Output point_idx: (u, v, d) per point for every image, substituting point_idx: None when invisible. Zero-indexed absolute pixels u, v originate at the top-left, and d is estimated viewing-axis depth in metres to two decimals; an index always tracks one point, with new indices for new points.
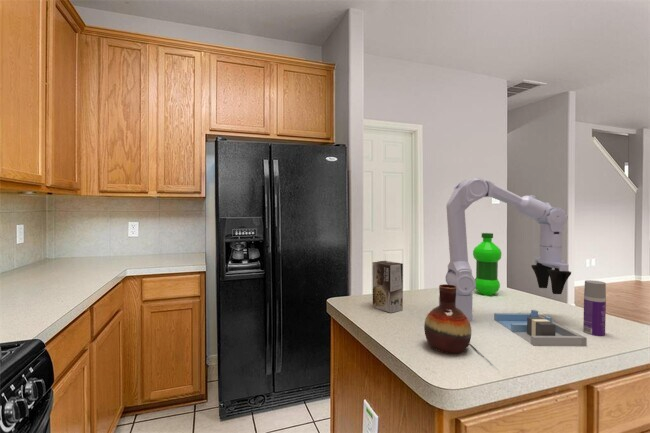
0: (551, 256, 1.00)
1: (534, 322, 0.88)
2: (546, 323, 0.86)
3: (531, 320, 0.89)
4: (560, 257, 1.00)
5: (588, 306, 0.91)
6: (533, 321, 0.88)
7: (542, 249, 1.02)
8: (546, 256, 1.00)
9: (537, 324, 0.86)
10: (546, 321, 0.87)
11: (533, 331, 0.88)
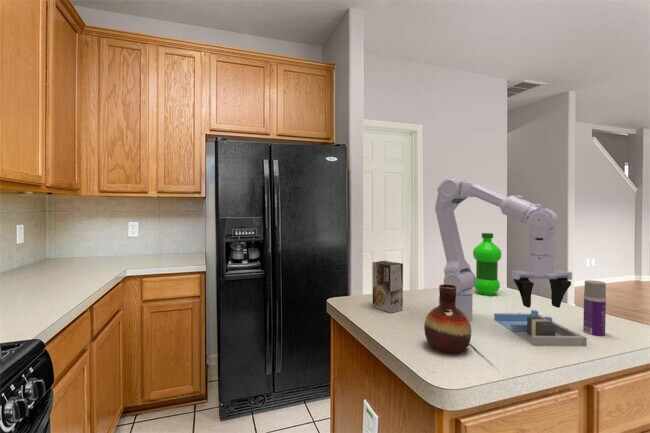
0: (529, 264, 0.89)
1: (534, 322, 0.88)
2: (546, 323, 0.86)
3: (531, 320, 0.89)
4: (536, 267, 0.86)
5: (588, 306, 0.91)
6: (533, 321, 0.88)
7: None
8: None
9: (537, 324, 0.86)
10: (546, 321, 0.87)
11: (533, 331, 0.88)
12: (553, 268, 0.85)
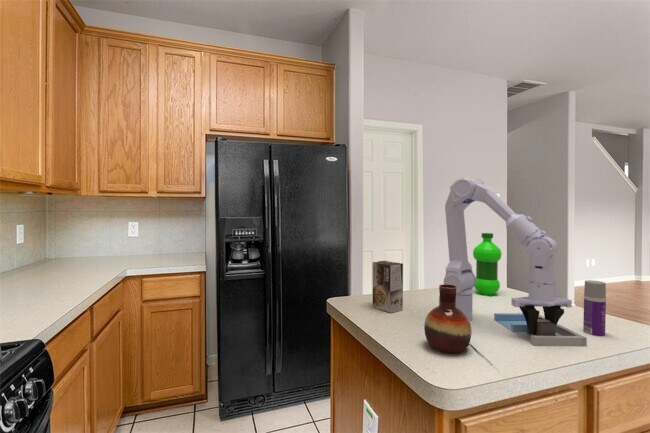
0: None
1: None
2: (546, 323, 0.86)
3: None
4: (536, 295, 0.86)
5: (588, 306, 0.91)
6: None
7: None
8: None
9: (537, 324, 0.86)
10: (546, 321, 0.87)
11: None
12: (552, 296, 0.85)
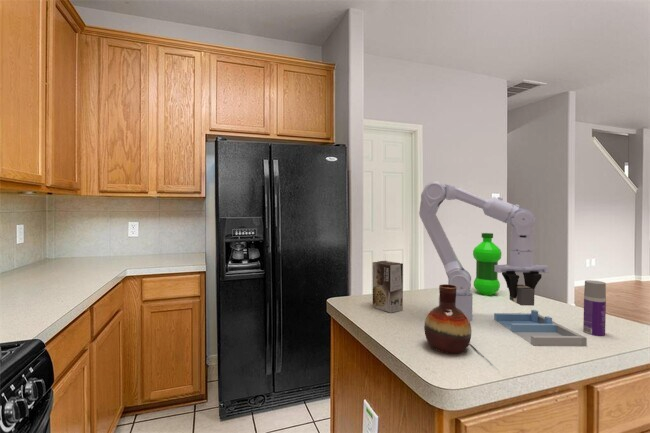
0: (510, 259, 0.98)
1: None
2: (526, 288, 0.94)
3: None
4: (516, 261, 0.95)
5: (588, 306, 0.91)
6: None
7: None
8: None
9: (518, 289, 0.95)
10: (526, 287, 0.96)
11: None
12: (531, 262, 0.94)
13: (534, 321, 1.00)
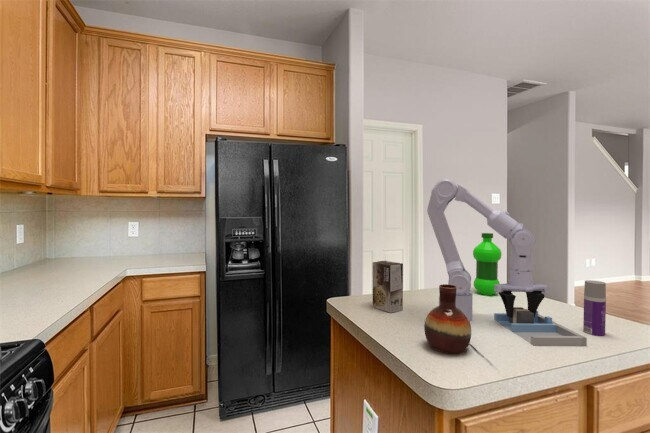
0: (510, 278, 0.98)
1: (515, 311, 0.96)
2: (525, 312, 0.95)
3: None
4: (516, 281, 0.95)
5: (588, 306, 0.91)
6: (514, 311, 0.97)
7: None
8: None
9: (517, 313, 0.95)
10: (526, 310, 0.96)
11: (514, 320, 0.97)
12: (531, 282, 0.95)
13: (534, 321, 1.00)
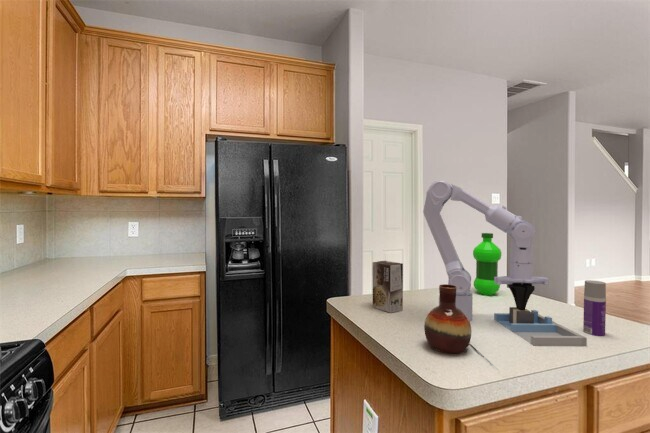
0: (510, 271, 0.98)
1: (515, 311, 0.96)
2: (525, 312, 0.95)
3: (512, 310, 0.98)
4: (516, 273, 0.95)
5: (588, 306, 0.91)
6: (514, 311, 0.97)
7: None
8: None
9: (517, 313, 0.95)
10: (526, 310, 0.96)
11: (514, 320, 0.97)
12: (531, 274, 0.94)
13: (534, 321, 1.00)
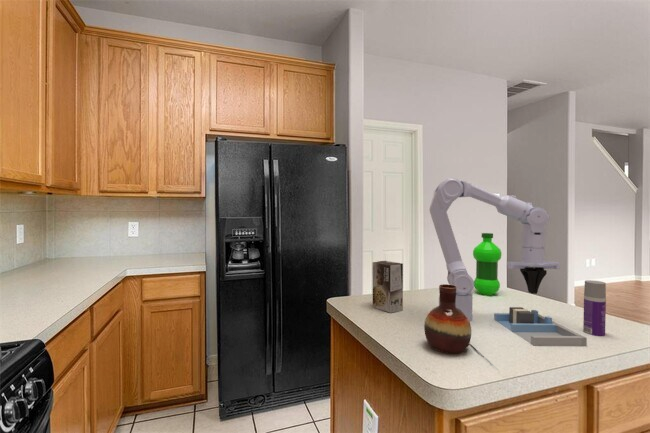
0: (522, 256, 1.01)
1: (515, 311, 0.96)
2: (525, 312, 0.95)
3: (512, 310, 0.98)
4: (528, 258, 0.98)
5: (588, 306, 0.91)
6: (514, 311, 0.97)
7: None
8: None
9: (517, 313, 0.95)
10: (526, 310, 0.96)
11: (514, 320, 0.97)
12: (543, 259, 0.97)
13: (534, 321, 1.00)
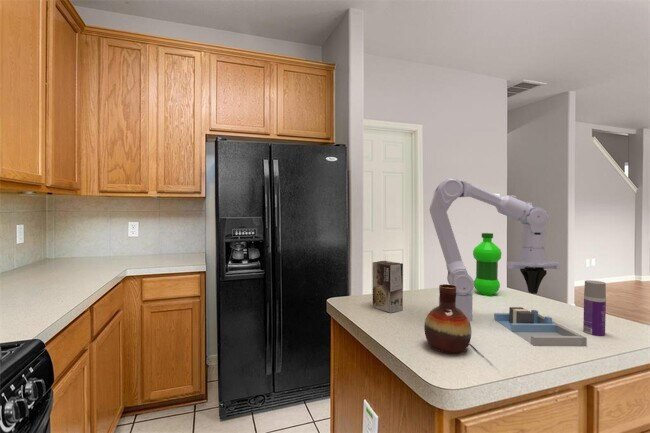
0: (522, 256, 1.01)
1: (515, 311, 0.96)
2: (525, 312, 0.95)
3: (512, 310, 0.98)
4: (528, 258, 0.98)
5: (588, 306, 0.91)
6: (514, 311, 0.97)
7: None
8: None
9: (517, 313, 0.95)
10: (526, 310, 0.96)
11: (514, 320, 0.97)
12: (543, 259, 0.97)
13: (534, 321, 1.00)
